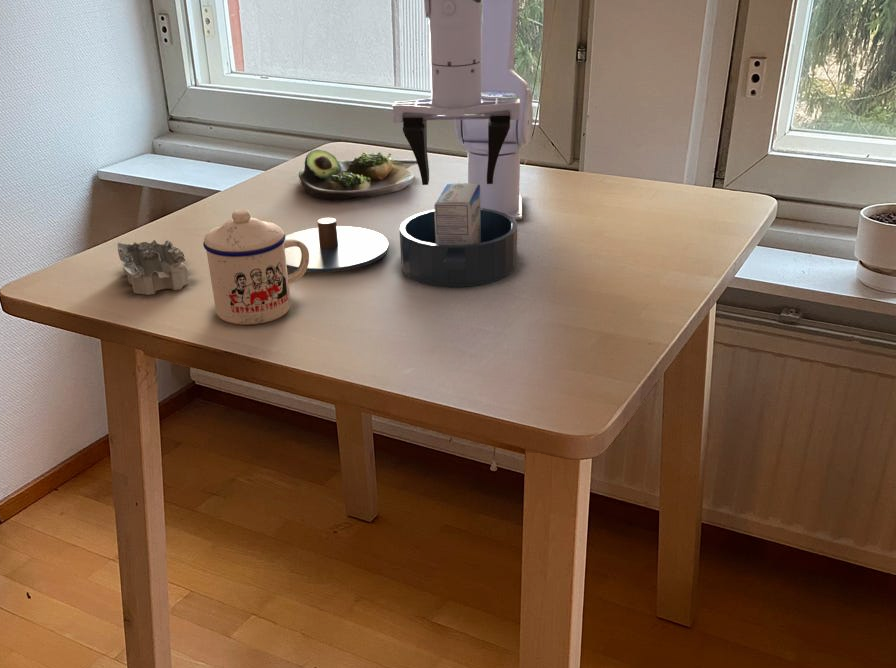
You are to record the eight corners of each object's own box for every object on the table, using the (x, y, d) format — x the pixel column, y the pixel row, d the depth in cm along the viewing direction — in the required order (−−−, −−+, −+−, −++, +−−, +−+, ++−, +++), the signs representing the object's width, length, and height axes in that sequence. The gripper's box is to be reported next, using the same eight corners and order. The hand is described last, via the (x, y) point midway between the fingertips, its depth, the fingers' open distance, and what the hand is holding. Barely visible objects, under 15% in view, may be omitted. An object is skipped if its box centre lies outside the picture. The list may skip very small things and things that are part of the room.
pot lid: (259, 277, 125) (254, 242, 123) (282, 234, 138) (279, 202, 135) (382, 276, 124) (380, 241, 121) (394, 233, 137) (392, 200, 134)
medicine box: (471, 273, 122) (471, 203, 117) (435, 272, 123) (433, 202, 118) (481, 250, 129) (481, 182, 124) (446, 249, 129) (445, 182, 125)
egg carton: (192, 289, 123) (187, 257, 121) (130, 299, 121) (123, 267, 119) (179, 259, 131) (173, 229, 129) (120, 269, 129) (114, 238, 127)
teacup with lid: (231, 333, 111) (215, 231, 105) (203, 306, 118) (187, 208, 112) (328, 308, 116) (319, 209, 110) (296, 283, 123) (286, 189, 117)
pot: (394, 296, 118) (392, 255, 116) (408, 237, 135) (407, 201, 132) (517, 295, 117) (517, 254, 114) (516, 236, 134) (517, 199, 131)
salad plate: (403, 159, 166) (402, 130, 164) (442, 188, 152) (441, 158, 150) (289, 175, 161) (286, 146, 159) (318, 207, 147) (315, 176, 144)
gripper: (387, 70, 110) (394, 193, 118) (520, 67, 109) (518, 191, 116) (394, 57, 116) (399, 175, 124) (520, 54, 115) (518, 173, 122)
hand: (457, 182), depth 120 cm, fingers open, 7 cm apart
